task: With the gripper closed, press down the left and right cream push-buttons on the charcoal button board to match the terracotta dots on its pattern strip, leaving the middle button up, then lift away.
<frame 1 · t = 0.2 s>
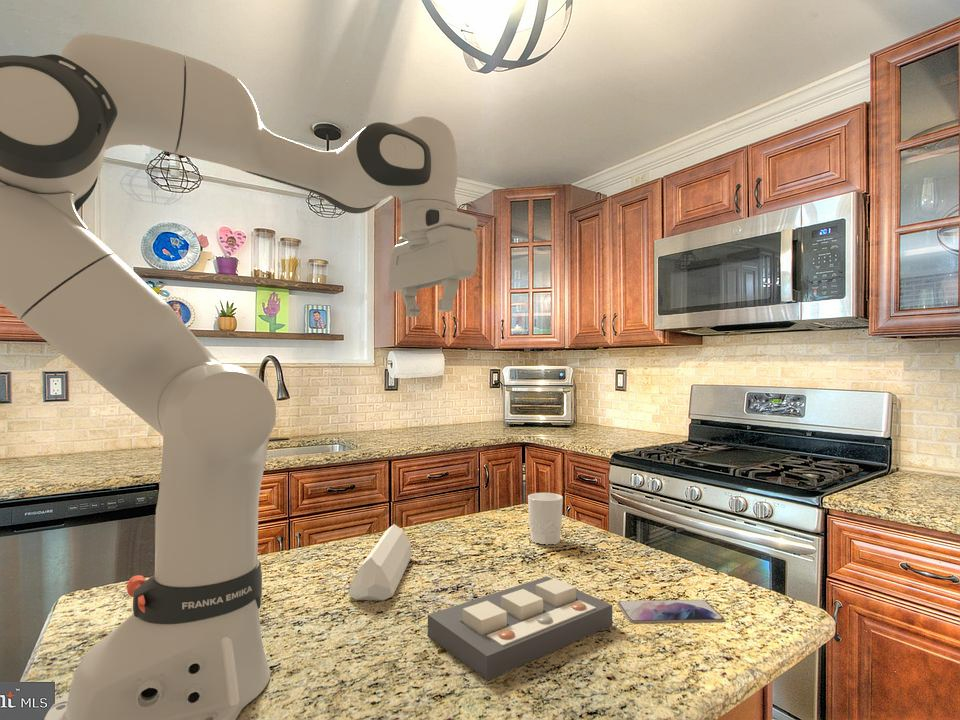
hand: (428, 314, 83), 47 cm above the countertop, fingers open, 8 cm apart
button right: (555, 595, 82), point 3 cm above the countertop, slide at 0.0 cm
button left: (484, 620, 74), point 3 cm above the countertop, slide at 0.0 cm
button board: (521, 630, 78), on the countertop
white cup: (545, 541, 120), on the countertop
button middle: (522, 607, 78), point 3 cm above the countertop, slide at 0.0 cm
smartphone: (669, 615, 84), on the countertop
beige chamfered bar: (383, 578, 98), on the countertop
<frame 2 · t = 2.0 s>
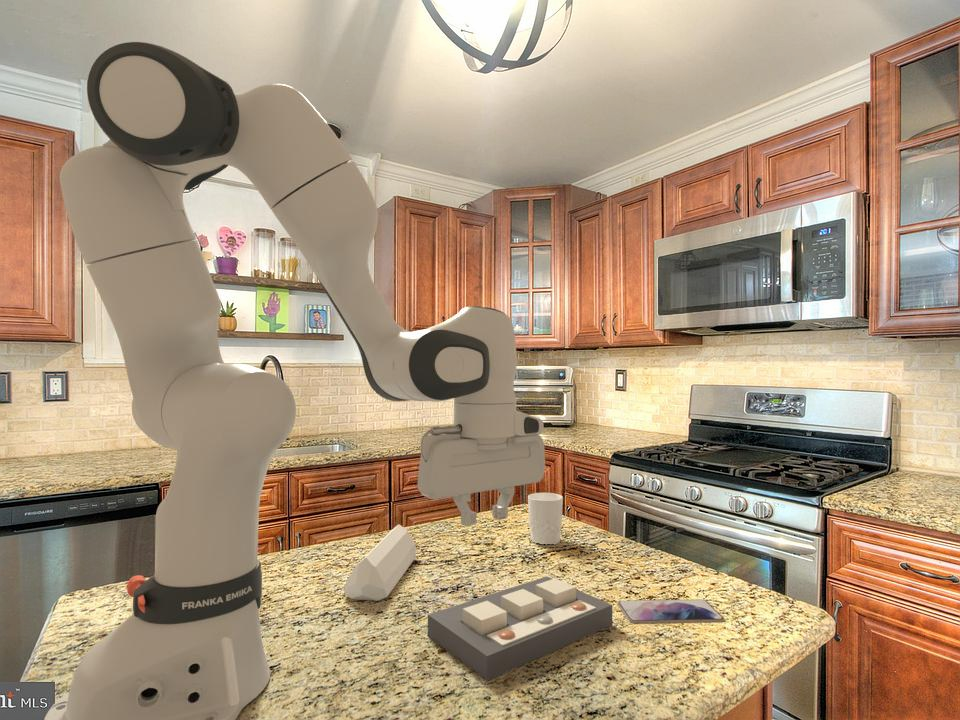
hand: (484, 521, 74), 17 cm above the countertop, fingers open, 4 cm apart
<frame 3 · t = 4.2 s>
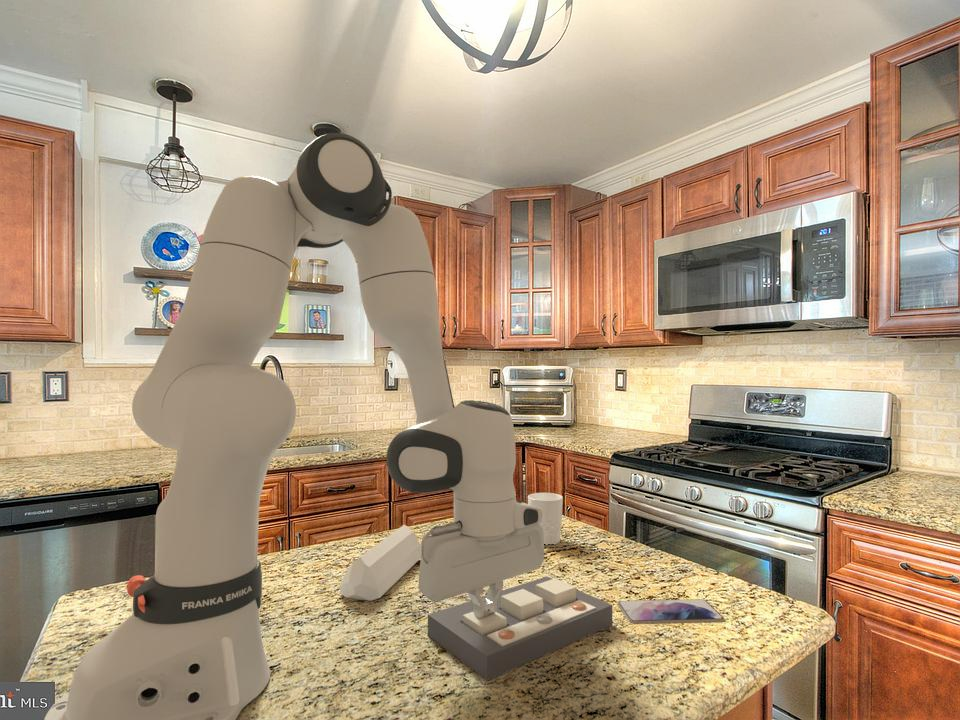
hand: (485, 614, 74), 4 cm above the countertop, fingers closed, pressing on button left
button left: (484, 627, 74), point 2 cm above the countertop, slide at 0.9 cm, touching gripper
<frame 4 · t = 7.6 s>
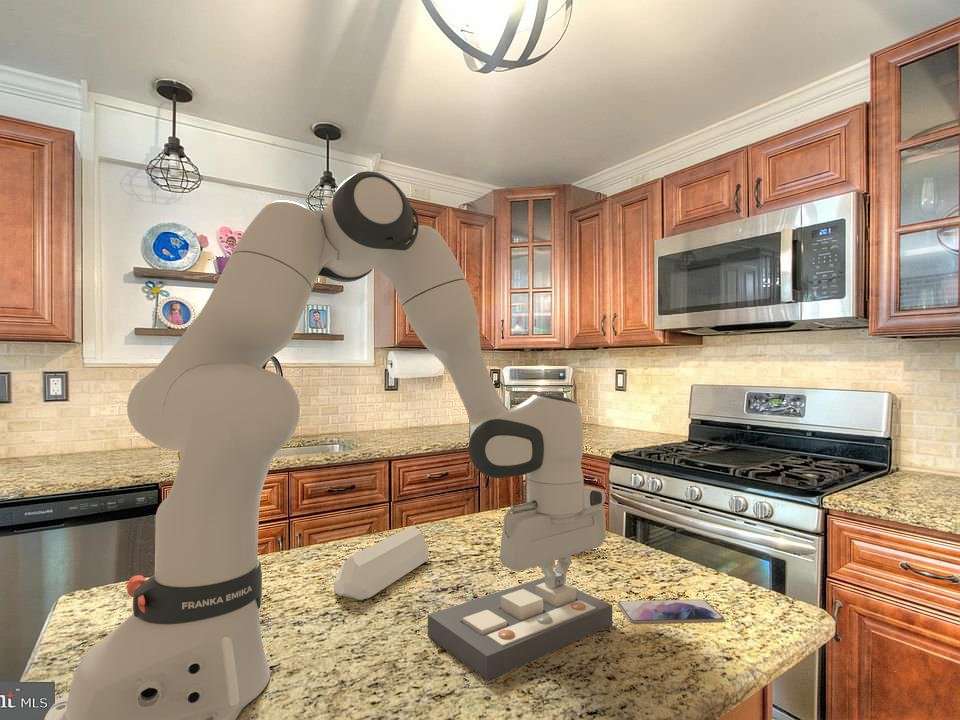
hand: (555, 585, 83), 5 cm above the countertop, fingers closed, pressing on button right
button right: (555, 596, 82), point 3 cm above the countertop, slide at 0.1 cm, touching gripper
button left: (484, 630, 74), point 2 cm above the countertop, slide at 1.3 cm
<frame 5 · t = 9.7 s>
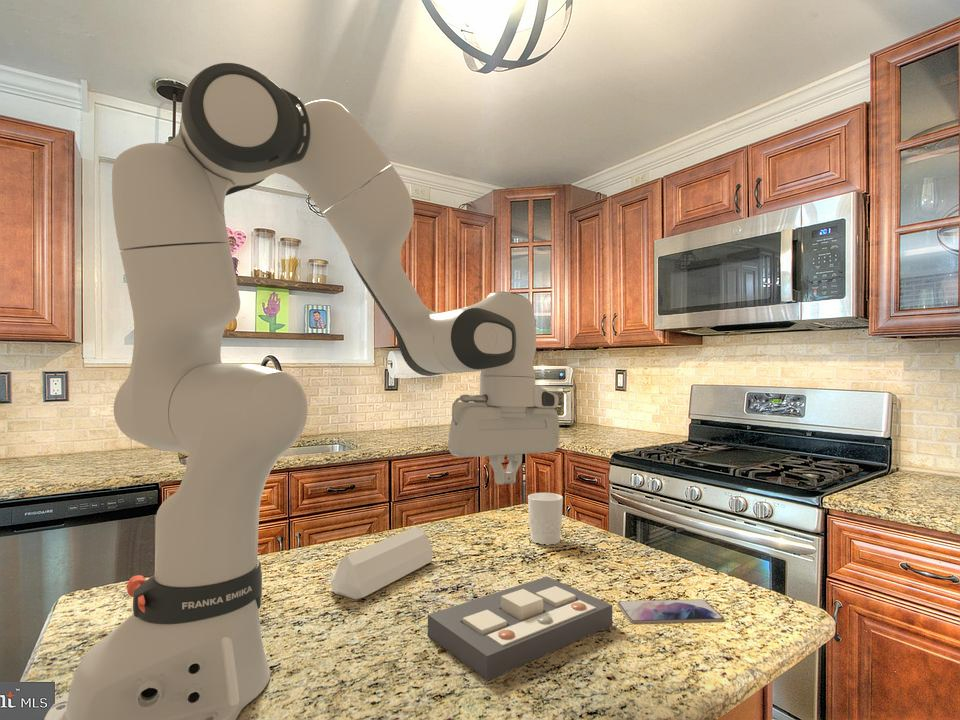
hand: (505, 483, 83), 21 cm above the countertop, fingers closed
button right: (555, 603, 82), point 2 cm above the countertop, slide at 1.2 cm
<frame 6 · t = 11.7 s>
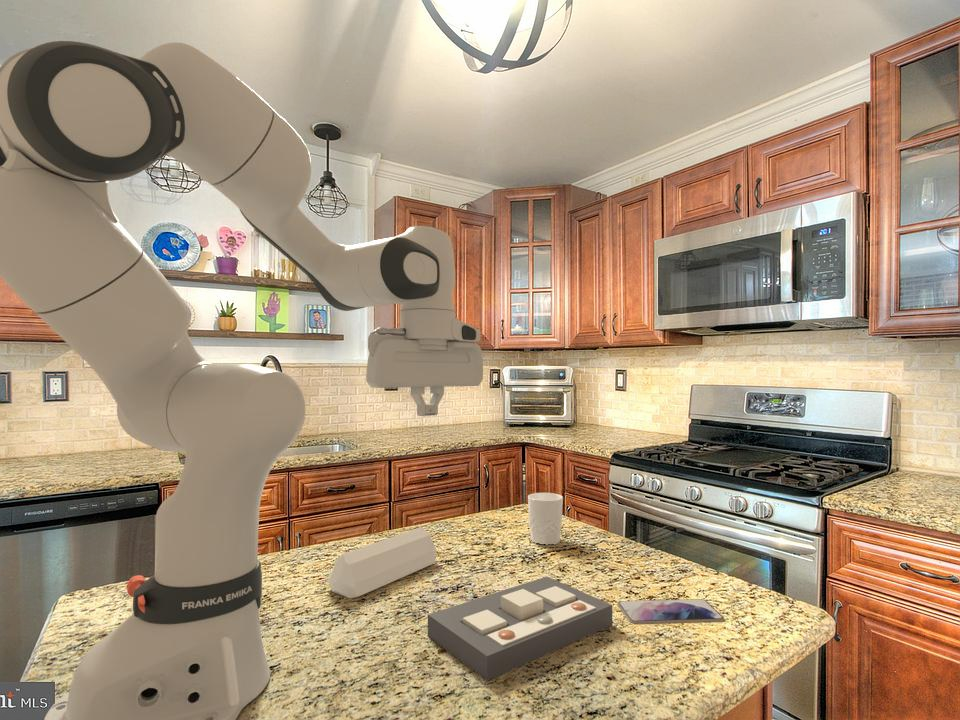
hand: (427, 415, 85), 31 cm above the countertop, fingers closed
at the end: button left slide at 1.3 cm; button right slide at 1.2 cm; button middle slide at 0.0 cm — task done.
